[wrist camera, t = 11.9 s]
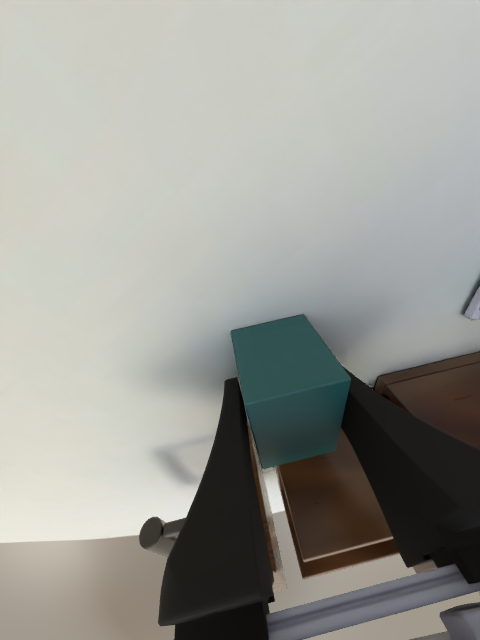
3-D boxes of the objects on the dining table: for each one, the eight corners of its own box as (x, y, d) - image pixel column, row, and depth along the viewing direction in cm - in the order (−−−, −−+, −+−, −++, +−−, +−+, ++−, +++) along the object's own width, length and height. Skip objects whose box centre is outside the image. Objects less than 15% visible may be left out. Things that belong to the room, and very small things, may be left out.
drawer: (191, 503, 22) (188, 615, 16) (137, 451, 15) (100, 619, 9) (396, 451, 22) (460, 542, 17) (441, 377, 15) (578, 492, 10)
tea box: (230, 330, 11) (244, 404, 8) (303, 313, 11) (352, 378, 8) (247, 397, 15) (262, 470, 11) (303, 383, 15) (336, 451, 11)
